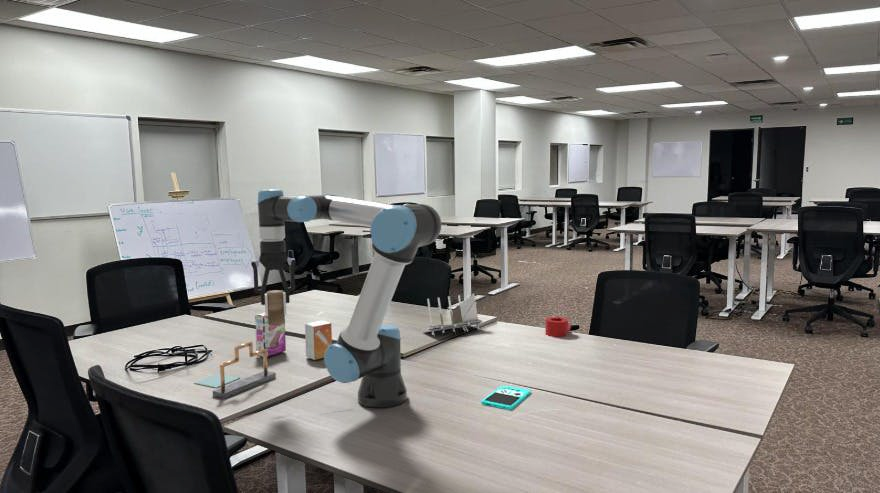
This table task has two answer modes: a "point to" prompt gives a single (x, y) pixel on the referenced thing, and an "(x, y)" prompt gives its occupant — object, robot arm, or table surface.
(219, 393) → the wire frame
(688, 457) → the table surface
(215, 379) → the mat
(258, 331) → the candy bar box
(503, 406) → the handheld game console
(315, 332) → the small box
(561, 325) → the red saucepan
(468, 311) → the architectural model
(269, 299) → the walnut peg
